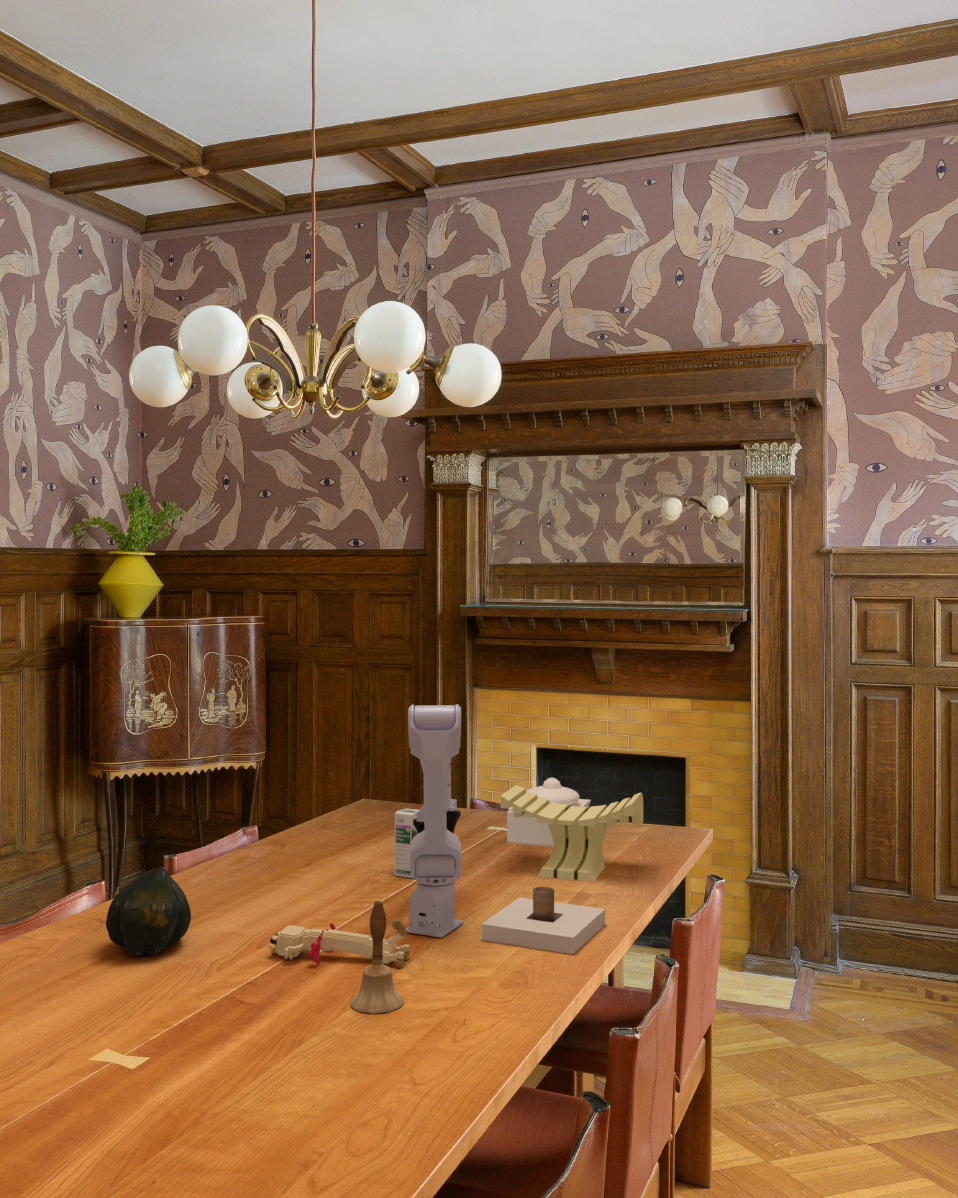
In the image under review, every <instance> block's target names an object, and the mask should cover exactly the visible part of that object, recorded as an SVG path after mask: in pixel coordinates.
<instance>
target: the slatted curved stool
mask: <svg viewBox="0 0 958 1198" xmlns="http://www.w3.org/2000/svg"><path fill="white" fill-rule="evenodd" d="M526 791H527V789H526V788H525V787H522V786H520V785H514V786H512V787H511V788H510V789H508V790H507V791H505V792H504V793H502V794H501V795H500V809H509V808H510V807H513V813H514V818H516V817H521V816H523V815H524V814H525V818H534V817H535V816H536V819H537V823H547V824H548V826H549V830H550V832H551V834H552V837H553V842H554V847H553V849H552V853H551V855H550V857H549V859H548V860H547V861H546V863H545V864H544V865H543V866H542V868H540V871H539V873H538V875H537V876H536V877H537V878H546V879H547V878H548V879H554V878H557V879H560V880H571V881H572V880H577V881H583V882H584V881H585V882H596V880H597V878H598V877H599V876H600V874H601V873H602V872H603V871H604V870H605V868H606V863H605V859H604V854H603V844H604V838H605V834H606V832H607V830H608V827H610V826H612V825H615V824H617V823H618V821H619V823H620V824H623V823H624V824H629V822H631V824H632V825H636V826H639V827H641V826H642V825H643V823H644V796H643V793H642V792H638V793H635V794H634V795H633V796H632V798H631V797H630V796H629V797H626V798H623V799H622V800H621V801H620V802H619V801H615V802H611V803H610V804H609V805H607V804H603V805H602V804H601V805H594V806H589V808H588V807H581V806H571V807H568V805H565V804H560V803H556V802H551V803H550V804H549V800H548V799H545V798H542V797H540V798H538V796H537V794H534V793H532V792H529V791H528V792H527V793H526Z"/></svg>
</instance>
